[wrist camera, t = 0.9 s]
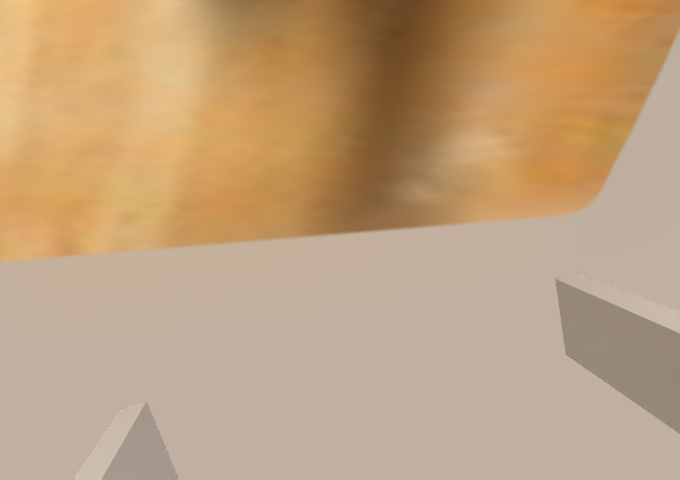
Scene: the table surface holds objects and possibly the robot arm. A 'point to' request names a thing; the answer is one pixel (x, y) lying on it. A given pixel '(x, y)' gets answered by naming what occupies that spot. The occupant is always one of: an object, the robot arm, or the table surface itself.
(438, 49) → the table surface
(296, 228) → the table surface
